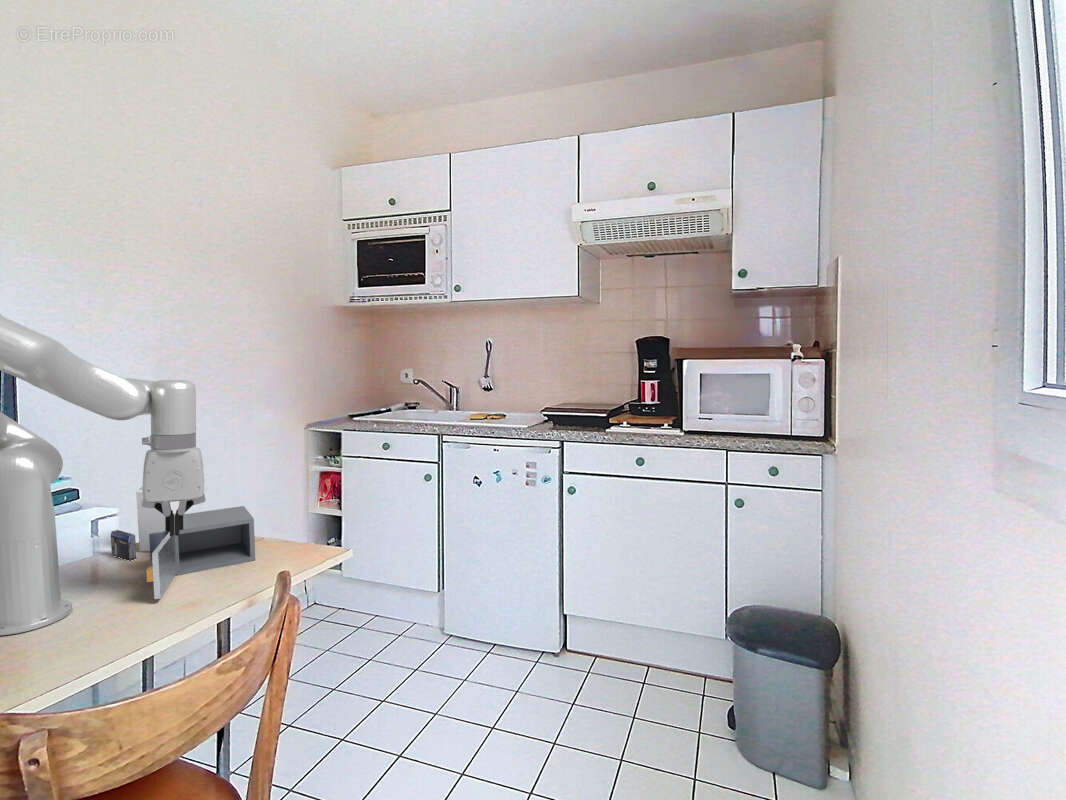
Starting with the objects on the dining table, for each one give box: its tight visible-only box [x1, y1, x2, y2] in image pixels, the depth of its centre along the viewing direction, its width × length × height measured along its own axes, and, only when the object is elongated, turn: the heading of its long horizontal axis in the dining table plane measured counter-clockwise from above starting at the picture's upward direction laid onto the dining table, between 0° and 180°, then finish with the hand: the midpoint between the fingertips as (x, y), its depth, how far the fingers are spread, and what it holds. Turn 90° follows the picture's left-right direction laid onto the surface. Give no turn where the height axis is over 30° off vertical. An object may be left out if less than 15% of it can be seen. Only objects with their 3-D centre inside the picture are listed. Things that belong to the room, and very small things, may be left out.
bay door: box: [146, 531, 177, 600], centre depth 114 cm, size 15×2×9 cm, turn 22°
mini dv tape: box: [110, 529, 137, 562], centre depth 134 cm, size 8×2×6 cm, turn 60°
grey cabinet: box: [149, 505, 256, 577], centre depth 131 cm, size 20×14×10 cm
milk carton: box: [136, 485, 186, 553], centre depth 141 cm, size 7×7×19 cm
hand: (174, 534), depth 112 cm, fingers closed
